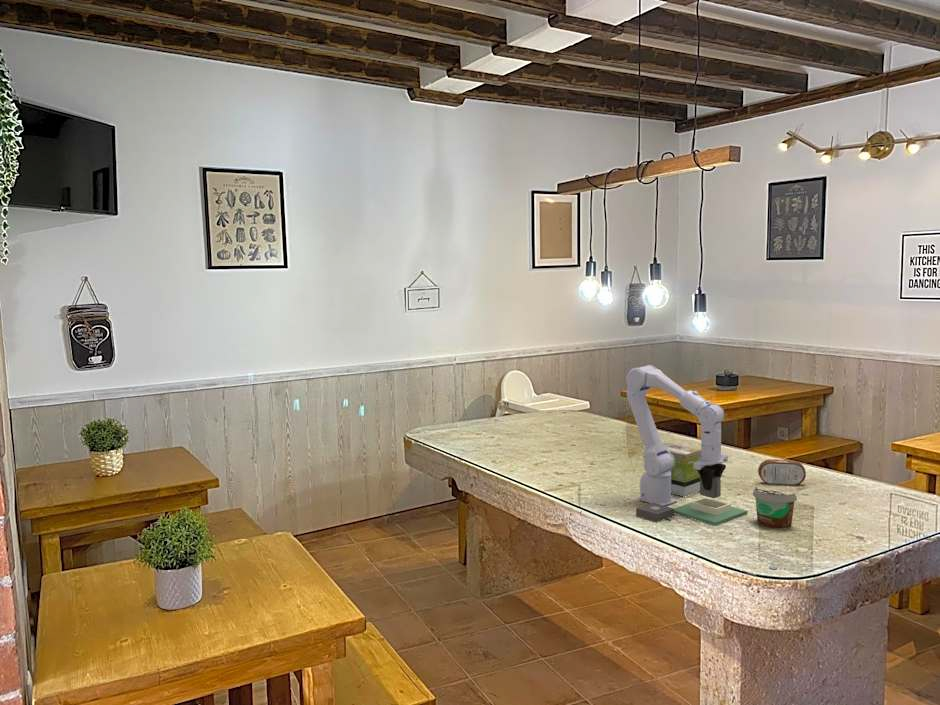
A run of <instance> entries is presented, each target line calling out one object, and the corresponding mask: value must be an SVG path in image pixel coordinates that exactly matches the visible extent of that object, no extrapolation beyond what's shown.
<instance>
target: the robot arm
mask: <svg viewBox="0 0 940 705" xmlns="http://www.w3.org/2000/svg"><path fill="white" fill-rule="evenodd" d="M624 379H625V381H626V385H627V386H626V398H627V401H628V403H629V407H630V410H631V412H632V415H633V418H634V420H635V424H636V426H637V429H638V432H639V435H640V438H641V440H642V443H643V446H644V450H643V454H642V458H643V462H644V463H643V469H644V470H645V472H644V473H643V474H641V476H640V480H639V481H640V482H639V483H640V484H639V489H640V490H639V492H640V493H639V498H638V501H640V500H641V502H644V501H645V502H644V503H647V502H648V503H647V504H650V503H657V504H660V505H664V506H667V505H670V504H671V505H672V504H674V503H677V502H678V500H677V499H674V498H672V494H671V470H672V469H673V468H674V466H675V459H674V457H673V455H672V454H671V453H670V452H669V450H668V447H667V446H665V445H664V444H663V443H664V442H662V440H661V438H660V434H659V431H658V428H657V426H656V424H655V421H654V417H653V415H652V413H651V412H652V411H651V410H650V406H649V404H648V401H647V398H646V395H647V394H648V391H649V390H650V389H651V387H656V388H657V387H658V388H660V389H661V390H663V391H664V392H666V393H668V394H670V395H671V396H672V397H674V398H675V399H677V400H679V405H680V406H681V407H682V408H684V409H685V410H687V411H688V412H689V413H691V414H692V415H694V416H695V417H697V420H698V421H699V424H700V426H701V427H700V428H701V429H700V431H701V432H700V436H701V438H700V440H701V441H700V444H701V446H700V450H701V458H700V459H699V460H698V461H696V462H694V469H696V470H697V471H698V473H699V475H700V477H701V480H702V484H703V487H704V489H705V490H711V487H712V478H713V476H717V477H720V479H721V478H722V475H723V473H724V471H725V470H726V466H727V465H726V463H728V462H729V456H728V454H722V421H723V420H724V419H725V411H724V409H723V407H722V406H721V405H720V404H718V403H712V401H710V400H707V399H705V398H704V397H702V396H700V395H699V392H698V391H696V390H685V389H684V388H683V387H681V386H680V385H679V384H677V383H676V382H675V381H673V380H672V379H671V378H670V377H668V376H667V375H666V374H664V373H663V371H661V369H658V368H657V367H655V366H654V365H652V364H647V365H645V366H641V367H633V368H631V369H630V370H629V371H628V373H627V374H626V376H625V378H624ZM724 463H725V464H724Z"/></svg>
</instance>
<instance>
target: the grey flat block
mask: <svg viewBox="0 0 940 705" xmlns="http://www.w3.org/2000/svg"><path fill="white" fill-rule="evenodd" d="M674 508H675V507H674ZM674 508H673V507H669V506H667V505H665V506H664V505H660V504H657V503H647V504H645V505H641V506H639V507H638V506H637V507H636V508H635V509H636V510H635V515H638V516H637V517H639V516H641V517H640V518H642V517H644V518H643V519H645V518H647V519H646V520H649V519H650V520H649V521H652V520H653V521H652V522H655V521H656V522H655V523H659V522H662V521H664V520H663V519H665V520H666V519H668V521H670V522H672V521H673V519H672V518H673V517H672V516H674V517H675V514H674ZM669 517H671V518H669ZM661 520H662V521H661ZM671 520H672V521H671ZM658 521H659V522H658Z"/></svg>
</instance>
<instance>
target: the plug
mask: <svg viewBox="0 0 940 705" xmlns="http://www.w3.org/2000/svg"><path fill="white" fill-rule="evenodd" d="M721 482H722V480H721V478H720V477H717V476H713V478H712V487H711V490H705V489H704V487H703V484H702V480H701V477H700V492H699V495H700V496H703V497H706V498H710V499H717V498H720V497H721V494H722V492H721V491H722V485H721V484H722V483H721Z"/></svg>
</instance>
